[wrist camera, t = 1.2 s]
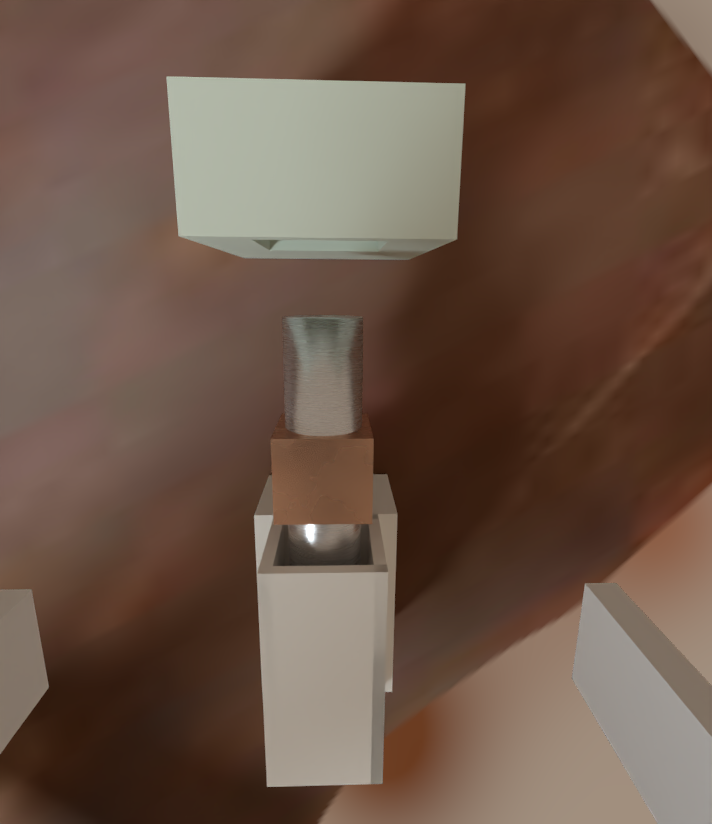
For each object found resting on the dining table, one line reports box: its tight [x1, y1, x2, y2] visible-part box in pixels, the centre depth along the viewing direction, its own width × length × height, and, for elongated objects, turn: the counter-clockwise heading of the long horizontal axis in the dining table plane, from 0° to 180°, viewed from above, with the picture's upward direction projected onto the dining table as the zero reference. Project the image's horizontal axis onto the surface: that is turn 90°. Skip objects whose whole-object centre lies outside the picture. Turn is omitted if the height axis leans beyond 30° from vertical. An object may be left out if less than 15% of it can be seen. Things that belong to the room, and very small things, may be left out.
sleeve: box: [254, 474, 398, 787], centre depth 29 cm, size 12×8×12 cm, turn 0°
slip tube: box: [271, 315, 374, 566], centre depth 24 cm, size 19×4×4 cm, turn 0°
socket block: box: [167, 77, 466, 260], centre depth 23 cm, size 5×10×13 cm, turn 90°
